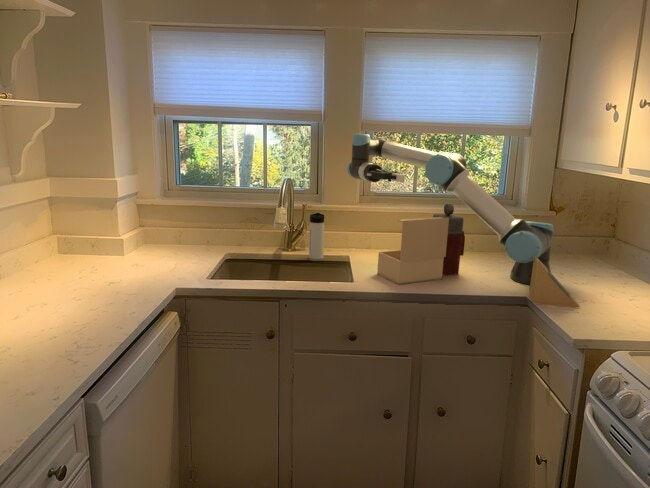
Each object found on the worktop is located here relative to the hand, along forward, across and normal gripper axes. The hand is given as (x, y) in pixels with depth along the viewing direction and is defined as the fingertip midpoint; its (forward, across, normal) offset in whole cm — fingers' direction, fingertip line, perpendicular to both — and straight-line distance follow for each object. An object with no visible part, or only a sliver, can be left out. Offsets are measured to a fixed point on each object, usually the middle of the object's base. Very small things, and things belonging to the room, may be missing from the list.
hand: (402, 178), depth 188 cm
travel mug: (-32, +20, -38) cm, 54 cm away
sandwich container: (+47, -34, -38) cm, 69 cm away
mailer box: (+4, -3, -38) cm, 38 cm away
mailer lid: (+8, -3, -21) cm, 23 cm away
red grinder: (+4, -22, -38) cm, 44 cm away
